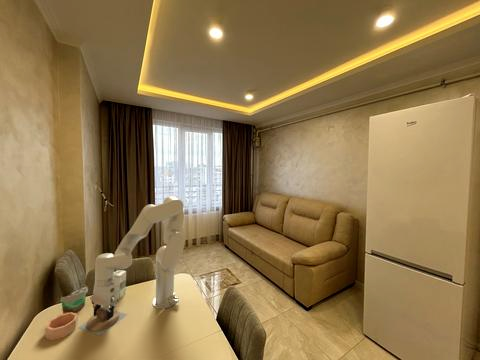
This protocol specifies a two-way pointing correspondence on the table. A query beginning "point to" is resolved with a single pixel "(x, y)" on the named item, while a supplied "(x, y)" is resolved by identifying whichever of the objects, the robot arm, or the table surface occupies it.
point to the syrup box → (120, 283)
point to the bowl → (61, 326)
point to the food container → (74, 300)
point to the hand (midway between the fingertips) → (103, 316)
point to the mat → (84, 327)
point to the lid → (102, 320)
